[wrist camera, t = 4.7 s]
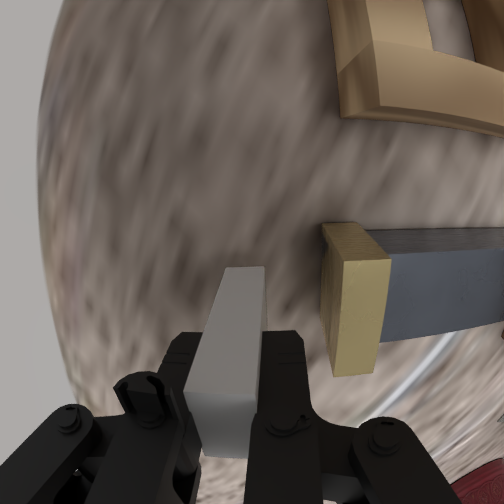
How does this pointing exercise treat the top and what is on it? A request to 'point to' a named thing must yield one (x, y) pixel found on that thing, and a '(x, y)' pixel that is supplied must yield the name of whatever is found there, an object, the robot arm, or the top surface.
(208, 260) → the top surface
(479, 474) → the canister
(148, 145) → the top surface
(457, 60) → the wooden square frame
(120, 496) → the robot arm
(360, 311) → the bar
